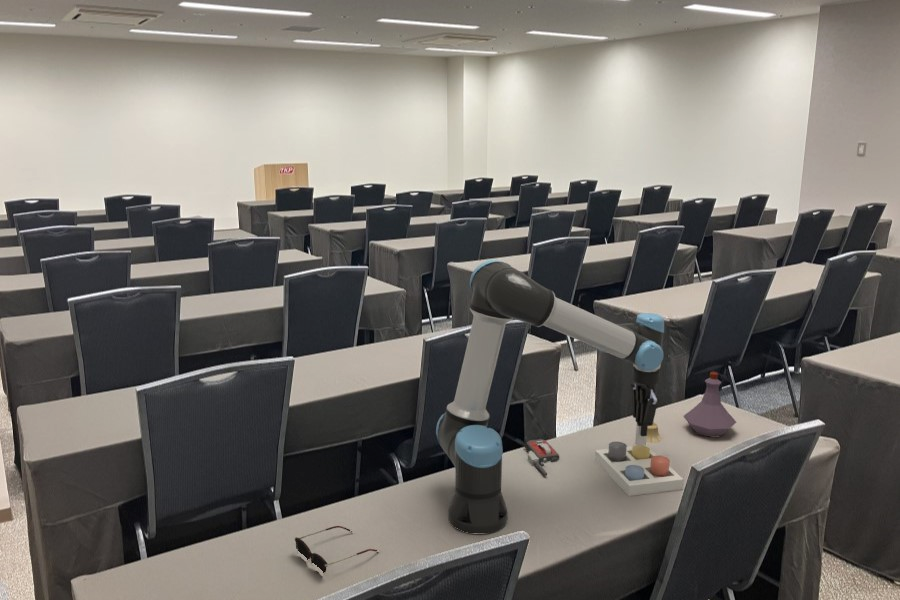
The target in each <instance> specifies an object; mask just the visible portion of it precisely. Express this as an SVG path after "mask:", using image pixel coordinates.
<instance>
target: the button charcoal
mask: <svg viewBox="0 0 900 600" xmlns="http://www.w3.org/2000/svg"><path fill="white" fill-rule="evenodd" d="M627 447H628V446H627V443H625V442H622V441H612V442H609V443H608V449H609V452H608V458H609V459H610V460H611V461H615V462H623V461H625V460H626V449H627Z"/></svg>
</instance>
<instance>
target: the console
mask: <svg viewBox="0 0 900 600" xmlns="http://www.w3.org/2000/svg"><path fill="white" fill-rule="evenodd" d="M633 446H634V445H632V446H627V449H626V460H625V461H623V462H615V461H611V460H610V459H609V458H608V452H609V448H603V449H596V450H595V452H594V454H595V455H594V456H595V457H594V460H595V461H596V463H597V464H598V465H599V466H600V467H601V468H602V469H603V470H604V471H605V473H607V474H608V475H609V477H610V478H611V479H612V480H613V481H614V482H615V483H616V484H617V485H618V486H619V488H621V489H622V490H623V492H624V493H625V494H626V495H627V496H628V497H631V496H632V497H633V496H641V495H649V494H657V493H666V492H672V491H680V490H683V487H684V478H683V477H682V476H680V475H679V473H677V472H676V471H675V470H674V469H673V468H672V467H671V466H669V474H668V476H666V477H657V476H654V475H652V474H651V473H650V465H651V457H652V456H656V455H657V453H656V452H654V451H653V450H652V449H650V457H649V459H640V460H636V459H635V458H634V457H632V447H633ZM644 446H646V447H648V446H647V444H646V445H644ZM628 465H638V466H641V467H643V468H644V479H642V480H634V481H629V480H628V479H627V478H626V477H625V471H626V466H628Z"/></svg>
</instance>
